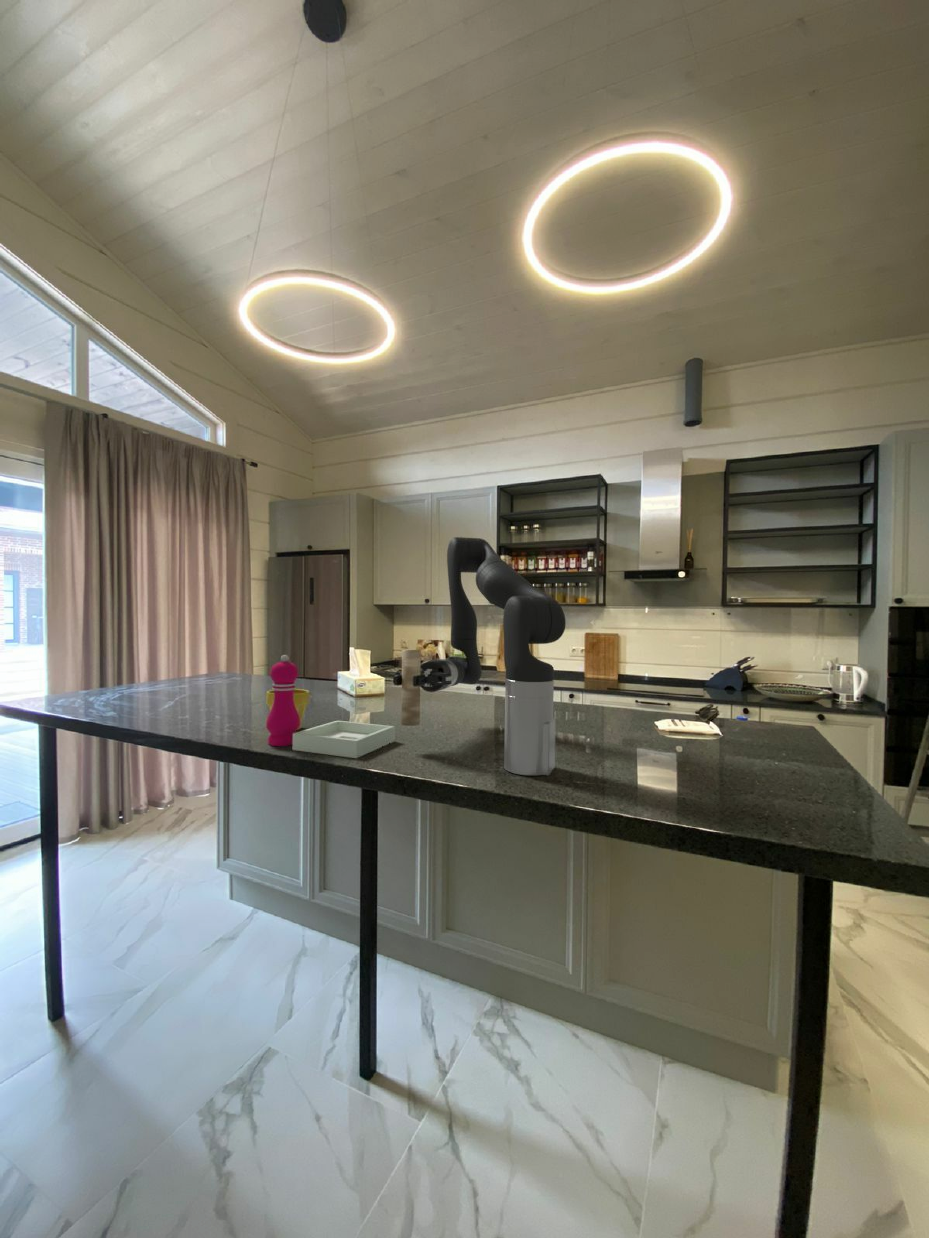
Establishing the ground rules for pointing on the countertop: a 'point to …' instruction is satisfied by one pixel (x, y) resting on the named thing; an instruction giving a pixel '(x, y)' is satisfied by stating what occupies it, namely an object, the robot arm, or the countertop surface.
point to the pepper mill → (283, 704)
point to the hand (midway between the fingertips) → (405, 680)
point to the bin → (344, 738)
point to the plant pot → (299, 701)
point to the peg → (410, 688)
